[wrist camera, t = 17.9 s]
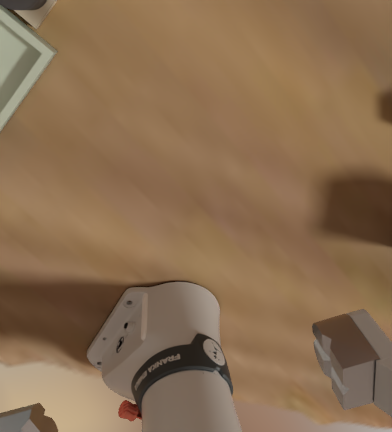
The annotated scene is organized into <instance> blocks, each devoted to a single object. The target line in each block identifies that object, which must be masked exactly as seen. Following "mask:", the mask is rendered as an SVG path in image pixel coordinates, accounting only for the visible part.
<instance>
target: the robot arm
mask: <svg viewBox="0 0 392 432" xmlns="http://www.w3.org/2000/svg"><path fill="white" fill-rule="evenodd" d="M128 301H131V302H128ZM219 317H220V308H219V304H218V302H217V300H216V298H215V297H214V295H213V294H212V293H211V292H209V291H208V290H207V289H205V288H203V287H201V286H199V285H196V284H193V283H188V282H170V283H165V284H161V285H157V286H154V287H132V288H129V289H127V290H126V291H125V292H124V294H123V295H122V297H121V299H120V300H119V302H118V303H117V305H116V306H115V308H114V309H113V311H112V312H111V314H110V316H109V317H108V319H107V320H106V322H105V323H104V325H103V326H102V328H101V330H100V331H99V333H98V334H97V336H96V337H95V339H94V340H93V342H92V343H91V345H90V347H89V348H88V350H87V358H88V360H89V361H90V362H91V364H92V365H93V366H94V367H96V368H97V369H98V370H100V371H101V372H102V378H103V381H104V382H105V384H106V385H107V386H108V387H109V388H110V389H111V390H113V391H114V392H116V393H117V394H119V395H121V396H123V397H126V398H128V399H131V400H133V401H135V402H136V404H132V403H131V402H129V401H127V400H125V401H123V402H122V404H121V405H120V408H119V412H118V413H119V416H120V418H124V419H128V420H129V421H134V420H135V419H136V418H139V419H141V420H142V432H242V429H241V426H240V423H239V419H238V416H237V413H236V409H235V406H234V402H233V399H232V394H233V386H232V382H231V378H230V373H229V370H228V366H227V362H226V359H225V357H224V354H223V351H222V349H221V344H220V332H219ZM312 328H313V333H314V335H315V337H316V340H315V341H314V349H315V353H316V356H317V360H318V362H319V364H320V366H321V368H322V370H323V372H324V374H325V375H326V376H328V377H330V378H331V379H332V389H333V391H334V393H335V395H336V397H337V398H338V400H339V402H340V404H341V406H342V408H343V409H344V410H347V409H351V408H354V407H358V406H362V405H366V404H370V403H373V402H374V404H375V405H376V406H377V407H379V408H380V409H381V410H383V411H384V412H386V413H387V414H388V415H390V416H391V417H392V342H391V341H390V340H389V338H388V337H387V336H386V335H385V333H384V332H383V331H382V329H381V328H380V327H379V326H378V324H377V323H376V322H375V321H374V319H373V318H372V317H371V316H370V314H369V313H368V312H367V311H366V310H364V309H360V310H357V311H354V312H350V313H347V314H342V315H339V316H335V317H332V318H329V319H326V320H322V321H319V322H316V323H313V326H312ZM44 411H45V409H44V408H43V406H42V405H41V404H40V403H37V404H34V405H30V406H27V407H22V408H18V409H15V410H10V411H7V412H3V413H0V432H58V429H57V426H56V424H55V422H54V421H53V419H52V418H50V417H47V416H44Z"/></svg>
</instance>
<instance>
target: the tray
mask: <svg viewBox="0 0 392 432" xmlns="http://www.w3.org/2000/svg"><path fill="white" fill-rule="evenodd" d="M57 52H58V51H57V50H56V49H54V48H53V47H52V46H51V45H50V44H48V43H47V42H46V41H45V40H44V39H42V38H41V37H40V36H39V35H38V34H36V33H35V32H34V31H33V30H32V29H30V28H29V27H28V26H27V25H26V24H24V23H23V22H22V21H21V20H20V19H18V18H17V17H16V16H15V15H14V14H12V13H11V12H10V11H9V10H8V9H6V8H5V7H3V6H1V5H0V132H1V130H2V129H3V128H4V126H5V125H6V123H7V122H8V121H9V119H10V118H11V116H12V115H13V113H14V112H15V111H16V109H17V108H18V106H19V105H20V104H21V102H22V101H23V99H24V98H25V97H26V95H27V94H28V92H29V91H30V90H31V88H32V87H33V85H34V84H35V83H36V81H37V80H38V78H39V77H40V76H41V74H42V73H43V71H44V70H45V68H46V67H47V66H48V64H49V63H50V61H51V60H52V59H53V57H54V56H55V54H56V53H57Z"/></svg>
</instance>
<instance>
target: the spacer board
mask: <svg viewBox="0 0 392 432" xmlns="http://www.w3.org/2000/svg"><path fill="white" fill-rule="evenodd" d="M56 1H57V0H0V5H1V6H3V7H5V8H7V9H11V10H14V11H15V12H16V13H18V14H19V15H20V16H21V17H22V18H24V19H25V20H26V21H27V22H28V23H29V24H31V25H32V26H33V27H34V28H35V29H37V28H39V26H40V25H41V23H42V22H43V20H44V19H45V17H46V16H47V15H48V13H49V12H50V10H51V9H52V7H53V6H54V4H55V3H56Z"/></svg>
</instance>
